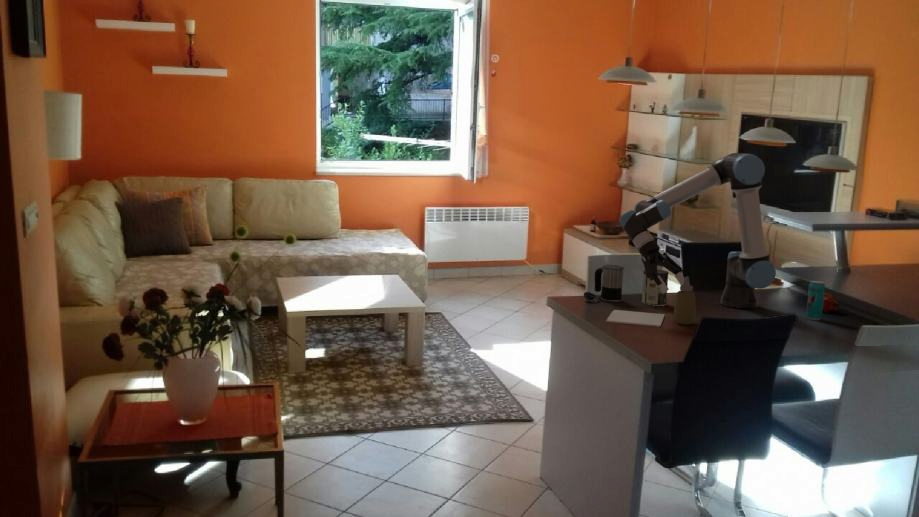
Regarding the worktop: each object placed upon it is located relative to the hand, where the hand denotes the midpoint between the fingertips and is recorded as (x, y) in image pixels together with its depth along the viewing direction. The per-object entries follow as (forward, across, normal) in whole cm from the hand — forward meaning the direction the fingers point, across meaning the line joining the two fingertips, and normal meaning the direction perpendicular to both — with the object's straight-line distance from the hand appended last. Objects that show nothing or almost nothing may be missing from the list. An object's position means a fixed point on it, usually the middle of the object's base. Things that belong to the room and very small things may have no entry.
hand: (676, 289), depth 308 cm
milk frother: (-20, -8, -38) cm, 44 cm away
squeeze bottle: (+12, -1, -6) cm, 13 cm away
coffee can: (-8, -21, -26) cm, 34 cm away
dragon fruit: (+28, -69, +10) cm, 75 cm away
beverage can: (+30, -50, +13) cm, 60 cm away
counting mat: (+1, +8, -17) cm, 19 cm away
